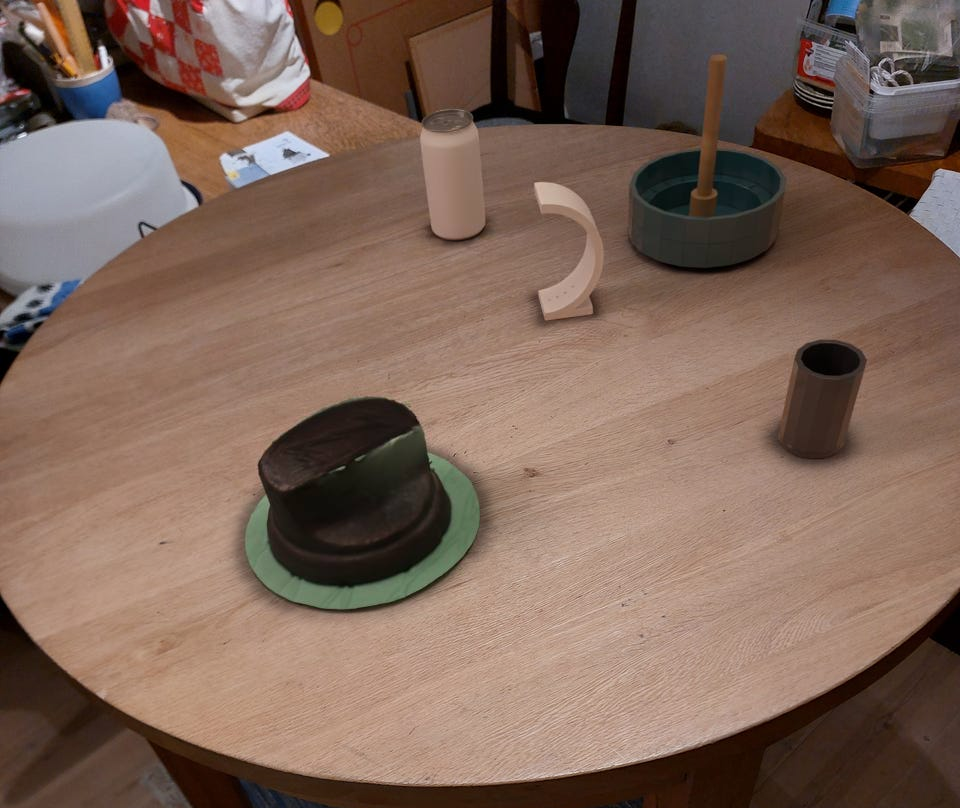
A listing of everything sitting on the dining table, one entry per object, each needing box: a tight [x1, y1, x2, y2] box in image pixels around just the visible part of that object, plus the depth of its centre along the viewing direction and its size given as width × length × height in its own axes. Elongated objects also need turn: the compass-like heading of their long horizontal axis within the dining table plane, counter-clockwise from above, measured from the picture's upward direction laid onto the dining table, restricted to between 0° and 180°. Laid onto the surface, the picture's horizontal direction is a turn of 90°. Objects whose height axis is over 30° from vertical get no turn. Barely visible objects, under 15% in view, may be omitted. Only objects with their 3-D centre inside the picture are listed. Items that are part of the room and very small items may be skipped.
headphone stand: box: [533, 181, 605, 322], centre depth 90 cm, size 5×6×12 cm
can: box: [419, 108, 486, 241], centre depth 102 cm, size 6×6×12 cm
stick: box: [689, 53, 728, 217], centre depth 94 cm, size 3×3×17 cm
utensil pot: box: [778, 339, 868, 460], centre depth 75 cm, size 5×6×8 cm
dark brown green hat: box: [244, 395, 481, 610], centre depth 74 cm, size 15×19×20 cm
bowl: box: [627, 147, 788, 269], centre depth 98 cm, size 16×16×6 cm
